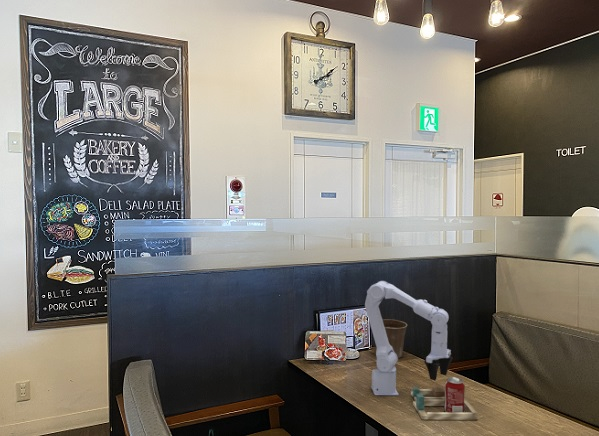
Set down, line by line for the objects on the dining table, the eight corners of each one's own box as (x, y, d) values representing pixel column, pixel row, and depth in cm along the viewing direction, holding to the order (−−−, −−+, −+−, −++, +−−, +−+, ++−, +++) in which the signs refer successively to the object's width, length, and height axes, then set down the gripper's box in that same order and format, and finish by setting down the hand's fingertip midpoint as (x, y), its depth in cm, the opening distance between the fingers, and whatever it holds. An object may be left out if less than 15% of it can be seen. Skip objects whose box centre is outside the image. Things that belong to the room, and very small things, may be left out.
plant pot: (412, 360, 222) (412, 327, 221) (380, 361, 218) (381, 328, 218) (398, 349, 237) (399, 318, 237) (369, 350, 234) (369, 319, 234)
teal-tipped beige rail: (421, 419, 160) (422, 402, 160) (412, 404, 172) (413, 388, 172) (477, 419, 160) (477, 402, 160) (464, 404, 172) (464, 389, 172)
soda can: (465, 417, 162) (466, 384, 162) (445, 415, 164) (446, 382, 163) (462, 409, 169) (463, 377, 168) (443, 407, 170) (444, 375, 170)
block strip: (416, 403, 173) (416, 392, 173) (410, 394, 181) (410, 384, 181) (455, 403, 173) (455, 393, 173) (448, 394, 181) (448, 384, 181)
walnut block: (435, 401, 175) (435, 391, 175) (432, 397, 179) (432, 387, 179) (445, 401, 175) (446, 391, 175) (442, 397, 179) (442, 387, 179)
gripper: (438, 348, 166) (437, 385, 167) (458, 340, 176) (457, 375, 176) (421, 343, 171) (420, 379, 172) (441, 336, 181) (440, 370, 182)
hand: (438, 377), depth 174 cm, fingers open, 7 cm apart
